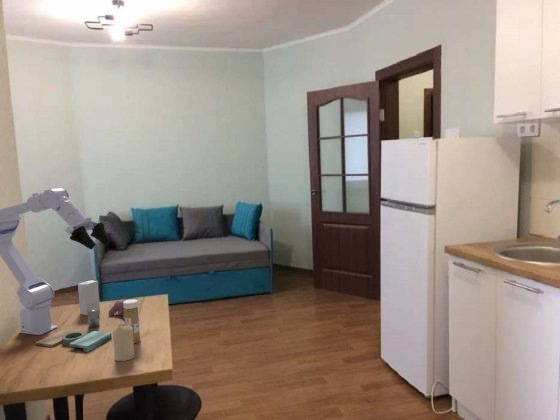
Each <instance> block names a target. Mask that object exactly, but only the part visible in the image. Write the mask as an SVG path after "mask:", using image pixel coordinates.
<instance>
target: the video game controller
mask: <svg viewBox="0 0 560 420" xmlns="http://www.w3.org/2000/svg"><path fill="white" fill-rule="evenodd" d="M126 300H127V299H120V300H119V299H118V300H117V301H115V302H114V304H113V306H111V308H110V309H109V311H108V316H109V317H113V316H114V315H115V314H116V313H117V314H118V315H119V316H122V318H123V320H124V321H125V319H124V317H125V316H124V308H123V302H124V301H126Z"/></svg>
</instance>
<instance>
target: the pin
mask: <svg viewBox="0 0 560 420" xmlns="http://www.w3.org/2000/svg"><path fill="white" fill-rule="evenodd" d="M87 312H88V315H87V321H88V323H87V324H88V328H89V329H96V328H100V312H99V310H98V309H97V308H94V309H89V310H88V311H87Z"/></svg>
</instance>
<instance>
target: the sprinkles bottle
mask: <svg viewBox="0 0 560 420" xmlns="http://www.w3.org/2000/svg"><path fill="white" fill-rule="evenodd" d="M125 300H126V301H124V302H123V308H124V316H125V317H124V319H125V320H124V319H123V320H124V323H125V324H128V325H130V326H131V327H132V328H133V341H134V344H137V343H139V342H140V341H141V335H140V334H141V333H140V319H139V318H140V317H139V300H138V299H134V298H133V299H125Z"/></svg>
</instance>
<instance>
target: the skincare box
mask: <svg viewBox="0 0 560 420" xmlns="http://www.w3.org/2000/svg"><path fill="white" fill-rule="evenodd" d="M98 283H99V281H98V280H93V279H91V280H87V281H83V282H81V283H77V290H78V299H79V300H78V301H79V312H80V313H79V314H80V315H83V316H88V312H87V311H88V310H89V309H94V308H97V309H98V310H99V311H100V310H101V308H100V296H99V284H98Z"/></svg>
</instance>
